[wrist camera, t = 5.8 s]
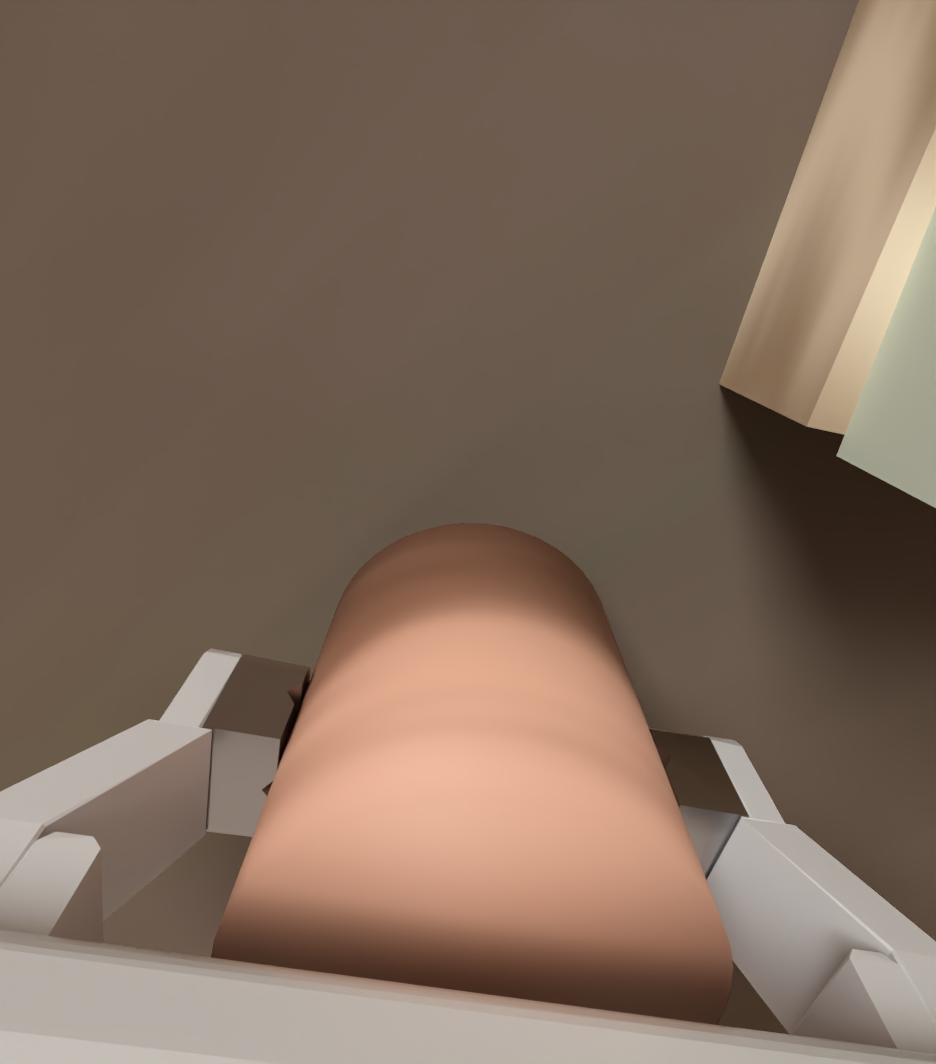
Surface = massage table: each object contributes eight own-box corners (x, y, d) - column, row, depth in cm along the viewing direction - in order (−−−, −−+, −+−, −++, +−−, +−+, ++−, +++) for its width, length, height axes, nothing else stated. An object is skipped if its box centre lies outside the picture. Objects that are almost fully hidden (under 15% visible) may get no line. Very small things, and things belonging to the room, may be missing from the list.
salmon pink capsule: (352, 496, 10) (224, 762, 5) (646, 555, 11) (824, 860, 5) (316, 732, 13) (199, 1101, 7) (564, 773, 13) (634, 1151, 8)
